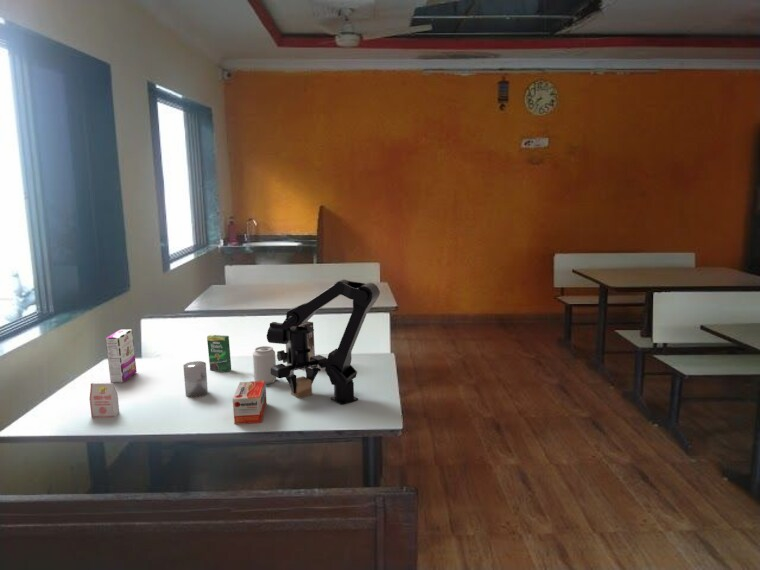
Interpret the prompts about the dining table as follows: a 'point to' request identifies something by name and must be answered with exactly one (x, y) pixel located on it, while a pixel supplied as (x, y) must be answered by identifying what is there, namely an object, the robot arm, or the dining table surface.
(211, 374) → the dining table surface
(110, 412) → the white paper food packet
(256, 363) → the can
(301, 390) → the light brown wooden cube
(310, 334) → the coffee box
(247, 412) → the medicine box
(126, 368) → the candy bar box
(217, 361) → the coffee box
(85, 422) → the dining table surface
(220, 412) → the dining table surface
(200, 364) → the grey metal cylinder
